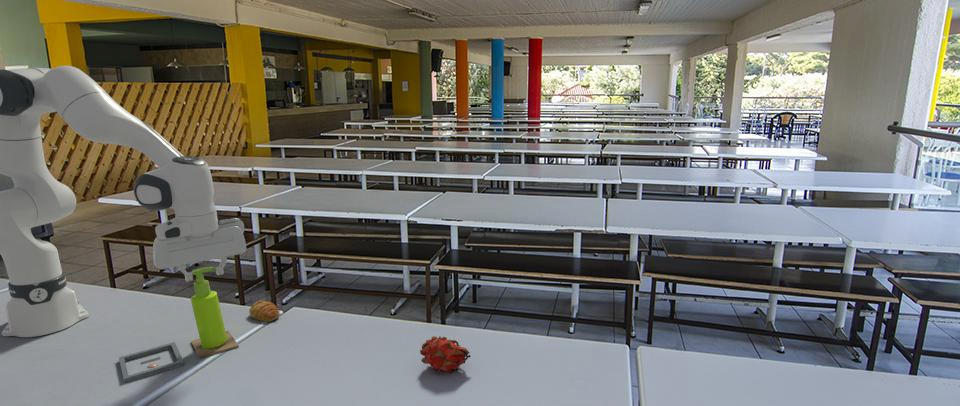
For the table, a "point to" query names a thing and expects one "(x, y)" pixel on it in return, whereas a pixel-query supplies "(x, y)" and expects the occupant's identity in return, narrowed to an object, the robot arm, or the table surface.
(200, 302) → the soap dispenser
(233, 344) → the walnut pad
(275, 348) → the table surface
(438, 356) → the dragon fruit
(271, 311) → the pastry
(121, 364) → the slate frame
